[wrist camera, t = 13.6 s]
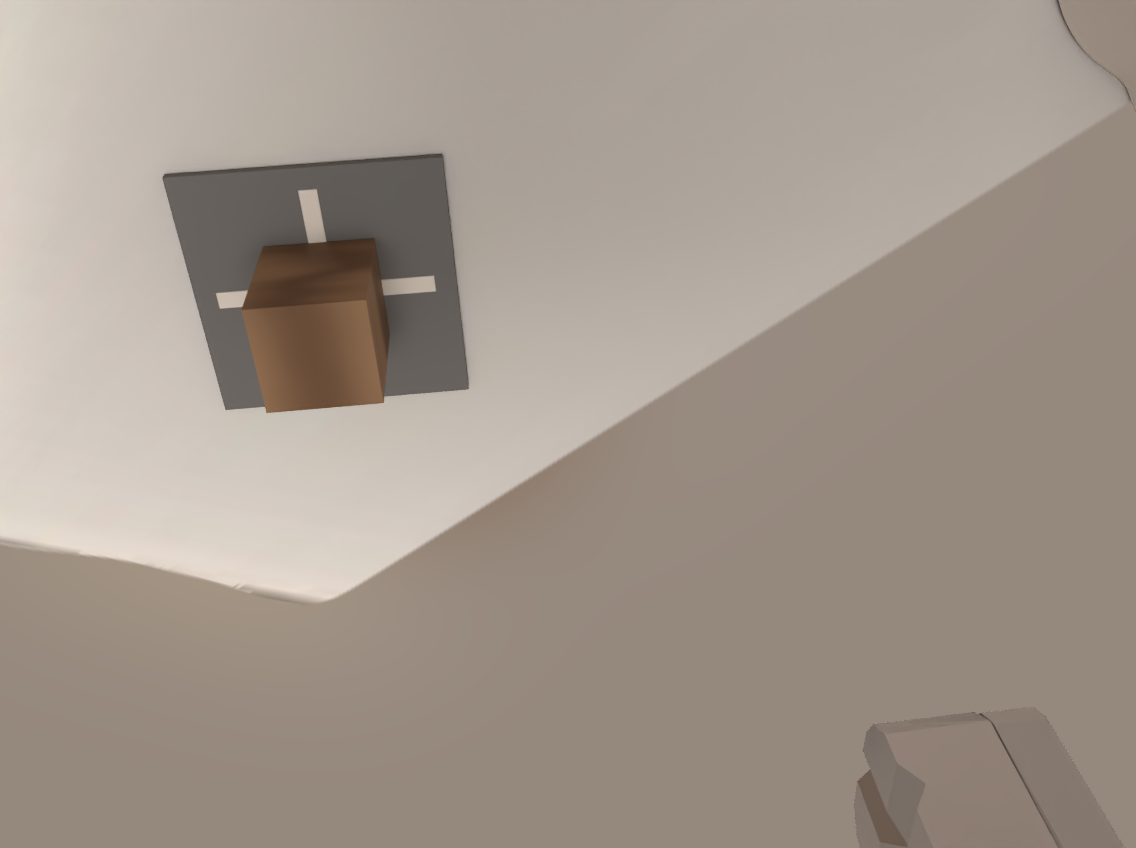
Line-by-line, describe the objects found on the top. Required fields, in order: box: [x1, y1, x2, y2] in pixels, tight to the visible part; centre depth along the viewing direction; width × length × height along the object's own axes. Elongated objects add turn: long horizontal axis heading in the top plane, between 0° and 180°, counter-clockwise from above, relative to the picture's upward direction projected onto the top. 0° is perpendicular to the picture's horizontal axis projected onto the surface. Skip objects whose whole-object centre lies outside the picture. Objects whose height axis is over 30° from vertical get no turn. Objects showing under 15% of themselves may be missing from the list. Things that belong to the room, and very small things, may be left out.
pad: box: [163, 154, 469, 410], centre depth 49 cm, size 12×12×1 cm
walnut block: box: [241, 238, 390, 413], centre depth 46 cm, size 5×5×6 cm
